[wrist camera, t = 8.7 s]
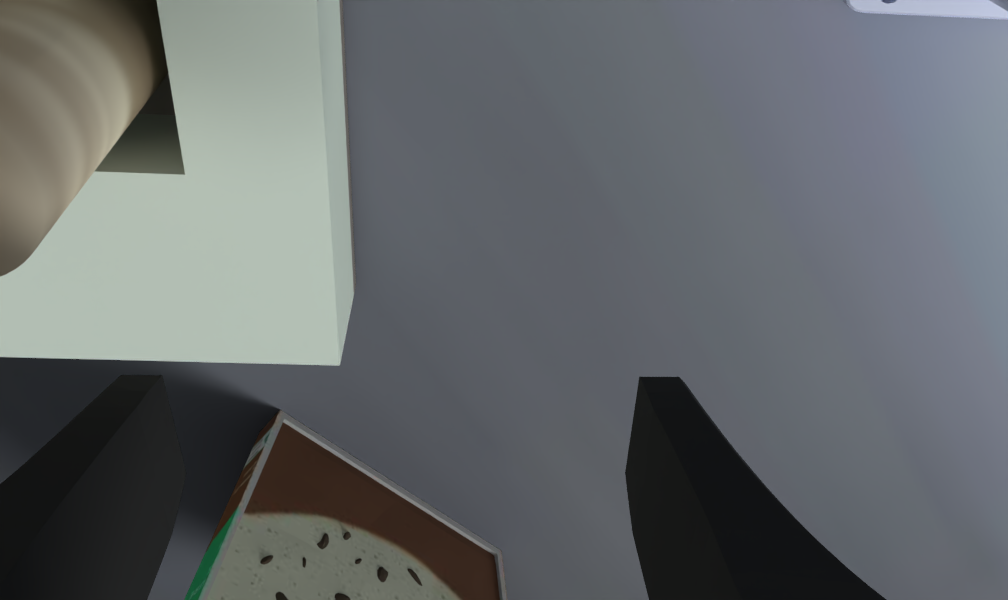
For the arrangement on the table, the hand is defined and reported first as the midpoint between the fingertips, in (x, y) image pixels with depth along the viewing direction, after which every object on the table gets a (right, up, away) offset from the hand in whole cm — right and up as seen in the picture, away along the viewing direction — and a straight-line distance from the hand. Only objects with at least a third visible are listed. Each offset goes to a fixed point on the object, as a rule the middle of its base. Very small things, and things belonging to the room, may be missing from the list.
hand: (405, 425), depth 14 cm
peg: (-7, +8, +6) cm, 12 cm away
